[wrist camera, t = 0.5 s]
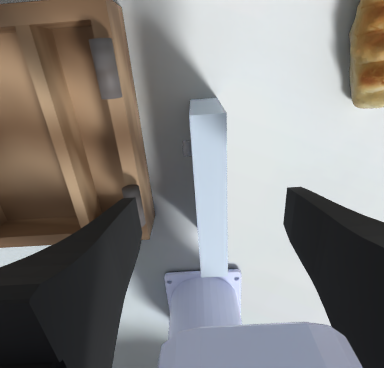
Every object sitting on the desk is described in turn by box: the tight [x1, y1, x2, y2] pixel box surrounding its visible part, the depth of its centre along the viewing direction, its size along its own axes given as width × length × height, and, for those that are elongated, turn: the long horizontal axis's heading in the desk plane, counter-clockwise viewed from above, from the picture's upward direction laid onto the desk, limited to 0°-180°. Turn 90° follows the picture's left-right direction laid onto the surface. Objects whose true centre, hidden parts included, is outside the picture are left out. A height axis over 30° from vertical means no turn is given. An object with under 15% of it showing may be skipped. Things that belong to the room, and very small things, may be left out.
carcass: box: [0, 0, 155, 248], centre depth 18 cm, size 16×14×5 cm
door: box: [183, 98, 228, 278], centre depth 19 cm, size 12×3×6 cm, turn 4°
